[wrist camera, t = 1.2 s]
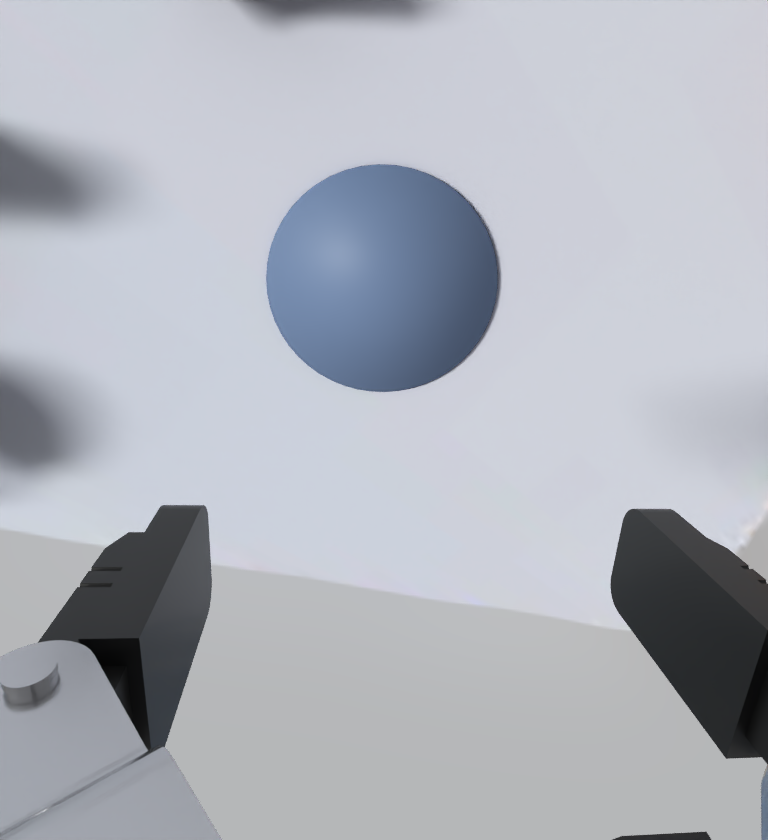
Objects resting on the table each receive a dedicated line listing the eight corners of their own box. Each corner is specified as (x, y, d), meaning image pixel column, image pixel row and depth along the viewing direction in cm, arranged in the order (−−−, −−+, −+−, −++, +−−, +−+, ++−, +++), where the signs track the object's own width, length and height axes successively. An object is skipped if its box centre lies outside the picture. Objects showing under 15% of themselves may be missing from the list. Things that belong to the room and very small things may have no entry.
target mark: (305, 121, 30) (305, 122, 30) (539, 221, 32) (540, 221, 32) (242, 349, 37) (241, 350, 36) (440, 416, 39) (440, 417, 39)
